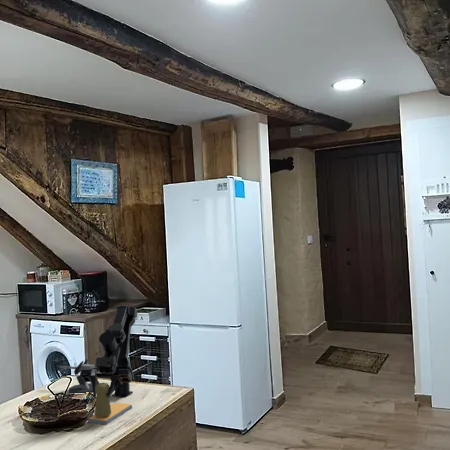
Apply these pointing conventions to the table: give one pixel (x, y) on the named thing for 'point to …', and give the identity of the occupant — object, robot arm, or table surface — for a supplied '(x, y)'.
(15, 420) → the table surface
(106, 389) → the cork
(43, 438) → the table surface
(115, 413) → the floor panel
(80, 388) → the gun turret
